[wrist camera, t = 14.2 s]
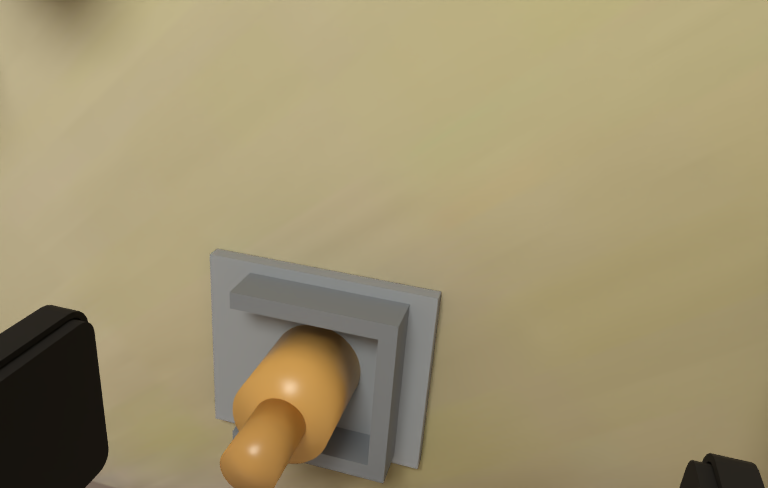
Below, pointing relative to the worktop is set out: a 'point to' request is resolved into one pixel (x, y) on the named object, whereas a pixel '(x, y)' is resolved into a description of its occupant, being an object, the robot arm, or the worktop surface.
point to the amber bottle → (290, 405)
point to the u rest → (351, 321)
